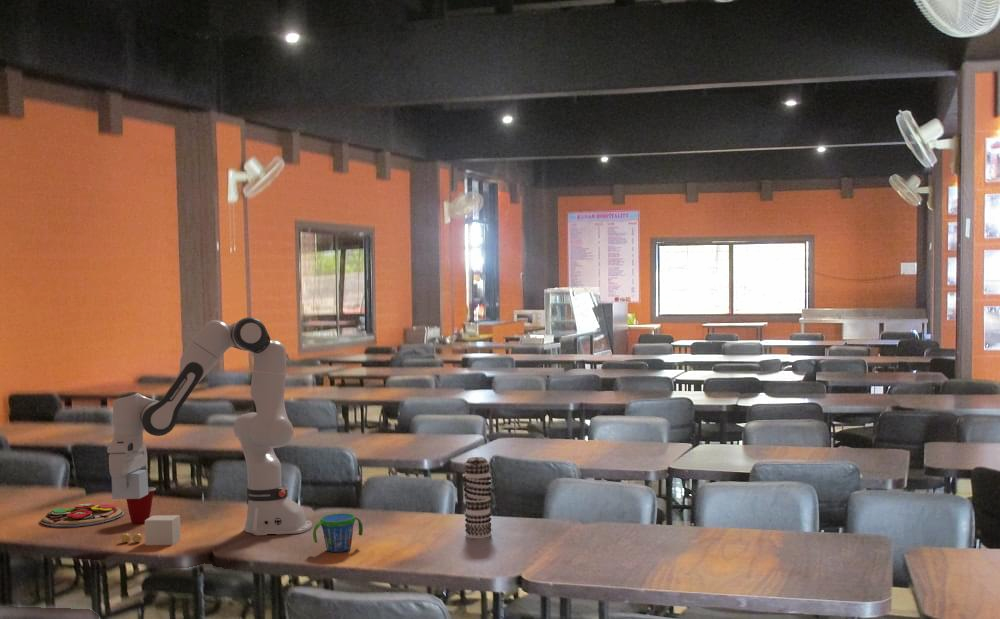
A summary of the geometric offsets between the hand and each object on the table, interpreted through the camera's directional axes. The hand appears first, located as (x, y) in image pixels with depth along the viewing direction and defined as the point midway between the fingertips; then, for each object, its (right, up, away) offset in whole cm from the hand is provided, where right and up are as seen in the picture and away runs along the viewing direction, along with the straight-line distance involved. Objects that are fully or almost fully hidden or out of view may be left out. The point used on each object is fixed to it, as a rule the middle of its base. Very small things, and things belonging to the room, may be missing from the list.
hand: (130, 485), depth 316 cm
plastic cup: (-7, -18, +28) cm, 34 cm away
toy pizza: (-31, -19, +36) cm, 51 cm away
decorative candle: (+113, -17, +1) cm, 114 cm away
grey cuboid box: (+11, -18, 0) cm, 21 cm away
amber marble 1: (-2, -19, +1) cm, 19 cm away
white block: (0, -4, 0) cm, 4 cm away
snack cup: (+69, -18, -13) cm, 73 cm away
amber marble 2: (+2, -19, 0) cm, 19 cm away
